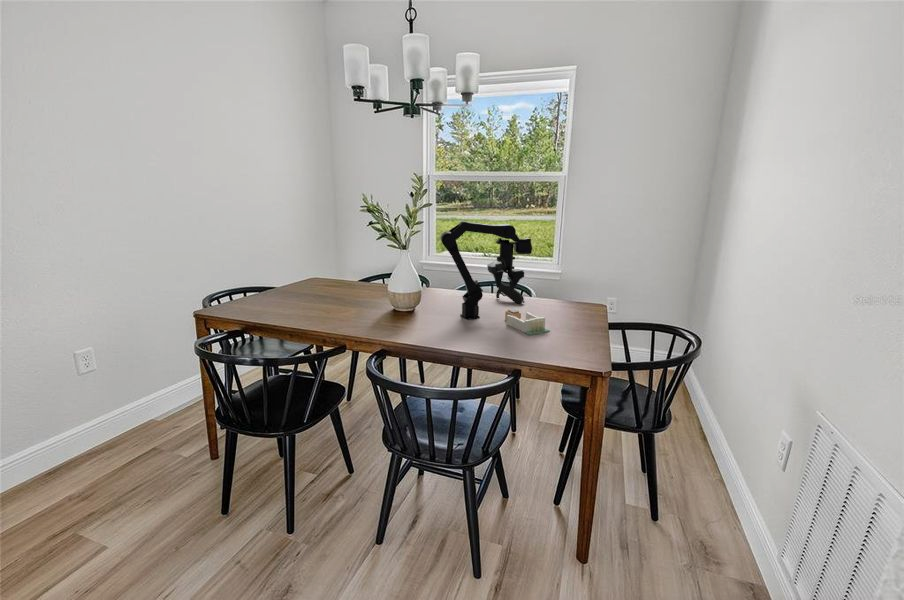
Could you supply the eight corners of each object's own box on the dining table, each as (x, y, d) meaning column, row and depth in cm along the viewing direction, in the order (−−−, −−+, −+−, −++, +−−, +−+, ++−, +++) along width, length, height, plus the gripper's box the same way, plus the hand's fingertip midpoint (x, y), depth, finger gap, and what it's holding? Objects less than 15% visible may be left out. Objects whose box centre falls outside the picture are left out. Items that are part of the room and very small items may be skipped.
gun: (515, 314, 206) (525, 298, 201) (491, 295, 212) (499, 279, 207) (518, 313, 208) (527, 297, 203) (494, 294, 214) (502, 278, 209)
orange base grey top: (511, 323, 177) (512, 312, 176) (505, 319, 181) (505, 309, 180) (520, 321, 179) (521, 311, 178) (513, 318, 183) (514, 308, 182)
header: (528, 335, 162) (528, 323, 161) (505, 324, 175) (506, 312, 173) (551, 331, 167) (552, 318, 166) (527, 320, 180) (528, 308, 179)
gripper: (478, 252, 182) (477, 287, 186) (504, 259, 166) (502, 297, 171) (499, 250, 187) (497, 284, 192) (526, 257, 172) (523, 294, 176)
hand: (504, 290), depth 182 cm, fingers open, 9 cm apart
